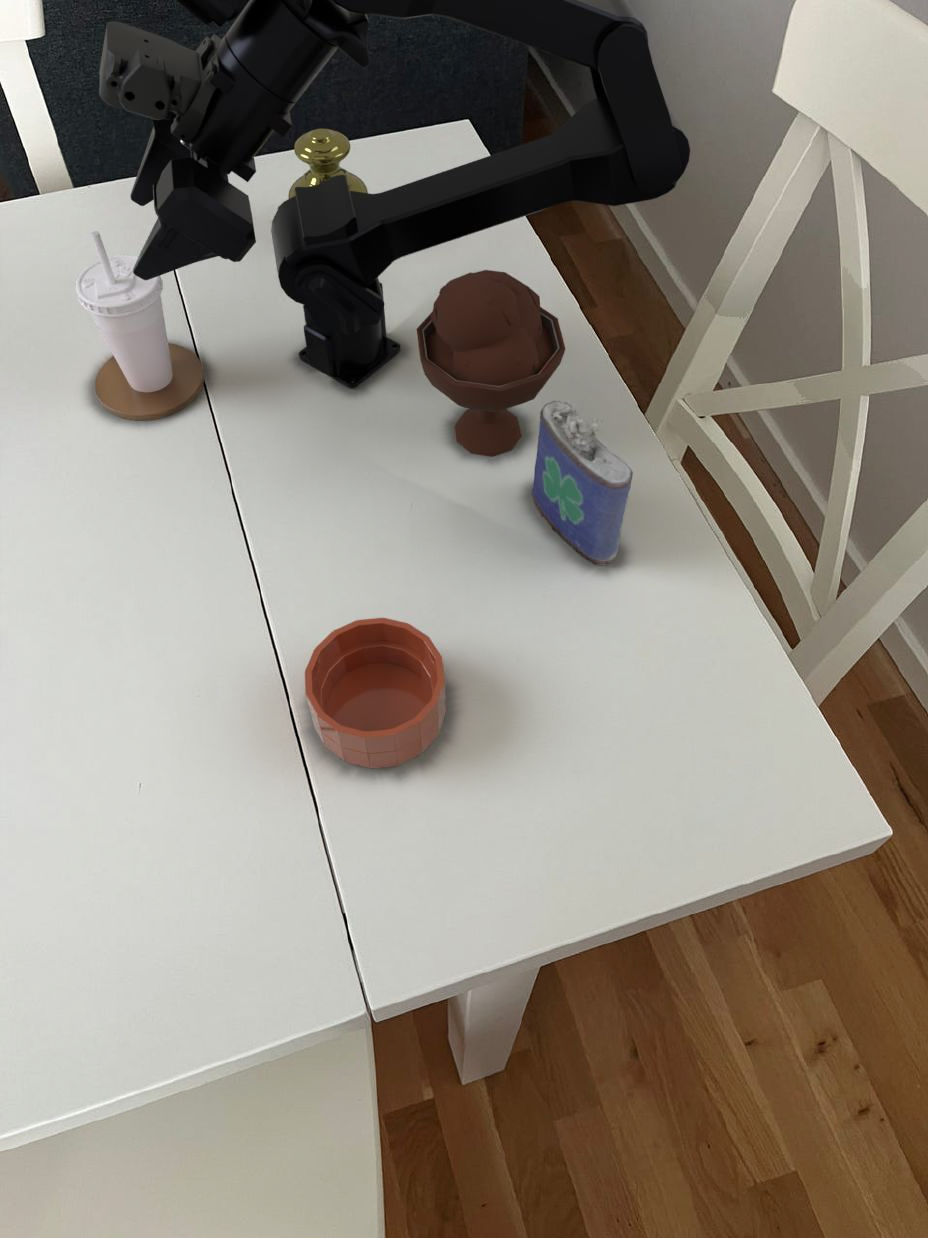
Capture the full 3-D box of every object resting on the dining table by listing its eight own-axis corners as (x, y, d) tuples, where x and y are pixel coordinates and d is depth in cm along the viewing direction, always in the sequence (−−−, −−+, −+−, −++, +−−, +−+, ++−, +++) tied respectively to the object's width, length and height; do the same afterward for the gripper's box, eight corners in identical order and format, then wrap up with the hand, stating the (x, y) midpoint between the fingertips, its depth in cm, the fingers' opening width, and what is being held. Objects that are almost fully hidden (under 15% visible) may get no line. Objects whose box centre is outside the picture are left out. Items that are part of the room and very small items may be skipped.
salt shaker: (289, 217, 97) (273, 116, 89) (363, 206, 98) (354, 106, 90) (300, 262, 93) (284, 161, 85) (378, 250, 94) (369, 150, 86)
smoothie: (96, 388, 82) (35, 240, 71) (143, 343, 85) (92, 194, 74) (158, 413, 81) (107, 265, 69) (204, 365, 84) (162, 216, 72)
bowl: (373, 633, 69) (368, 596, 65) (471, 700, 66) (471, 665, 62) (286, 720, 65) (276, 685, 61) (386, 795, 62) (381, 763, 58)
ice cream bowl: (545, 489, 77) (560, 334, 64) (406, 468, 78) (394, 312, 66) (565, 396, 82) (582, 237, 70) (435, 378, 84) (429, 219, 71)
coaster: (155, 333, 87) (153, 328, 87) (226, 376, 84) (225, 371, 83) (74, 389, 83) (71, 383, 83) (146, 436, 80) (144, 431, 79)
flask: (623, 557, 73) (644, 455, 64) (591, 574, 72) (608, 473, 63) (551, 479, 77) (561, 373, 68) (520, 494, 76) (526, 389, 68)
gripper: (147, -84, 65) (34, 103, 72) (157, 56, 54) (24, 256, 62) (285, 31, 72) (169, 189, 80) (317, 173, 62) (180, 339, 69)
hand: (137, 237), depth 73 cm, fingers open, 9 cm apart
